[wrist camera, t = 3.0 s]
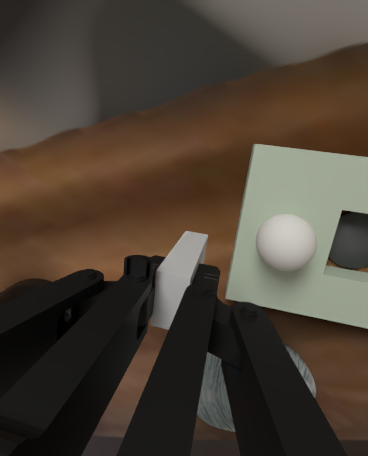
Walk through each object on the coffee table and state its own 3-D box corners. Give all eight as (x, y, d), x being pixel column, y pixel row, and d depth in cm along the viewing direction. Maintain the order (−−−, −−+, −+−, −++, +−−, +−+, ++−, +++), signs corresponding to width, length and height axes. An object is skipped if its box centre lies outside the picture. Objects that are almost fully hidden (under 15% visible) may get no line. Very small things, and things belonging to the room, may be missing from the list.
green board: (226, 285, 31) (225, 298, 28) (252, 145, 26) (255, 143, 24) (391, 319, 28) (409, 337, 25) (451, 169, 24) (481, 171, 21)
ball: (249, 253, 26) (252, 274, 21) (259, 205, 25) (265, 215, 20) (300, 263, 25) (316, 286, 21) (314, 213, 24) (333, 226, 19)
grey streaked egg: (191, 417, 32) (193, 469, 23) (182, 336, 35) (181, 352, 25) (297, 403, 33) (344, 447, 23) (281, 324, 35) (318, 334, 26)
